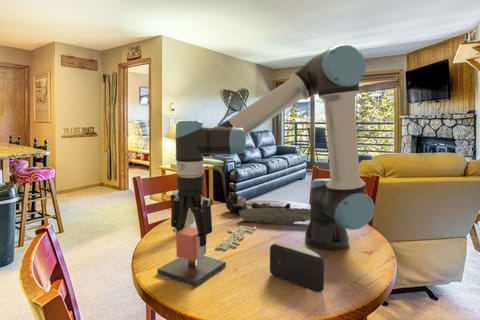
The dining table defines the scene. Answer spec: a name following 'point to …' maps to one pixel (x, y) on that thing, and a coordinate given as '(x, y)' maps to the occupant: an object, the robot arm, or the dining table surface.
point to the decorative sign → (235, 235)
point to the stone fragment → (276, 215)
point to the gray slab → (191, 269)
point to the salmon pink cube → (187, 243)
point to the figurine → (246, 204)
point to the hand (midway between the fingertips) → (191, 253)
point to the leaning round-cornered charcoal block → (297, 266)
